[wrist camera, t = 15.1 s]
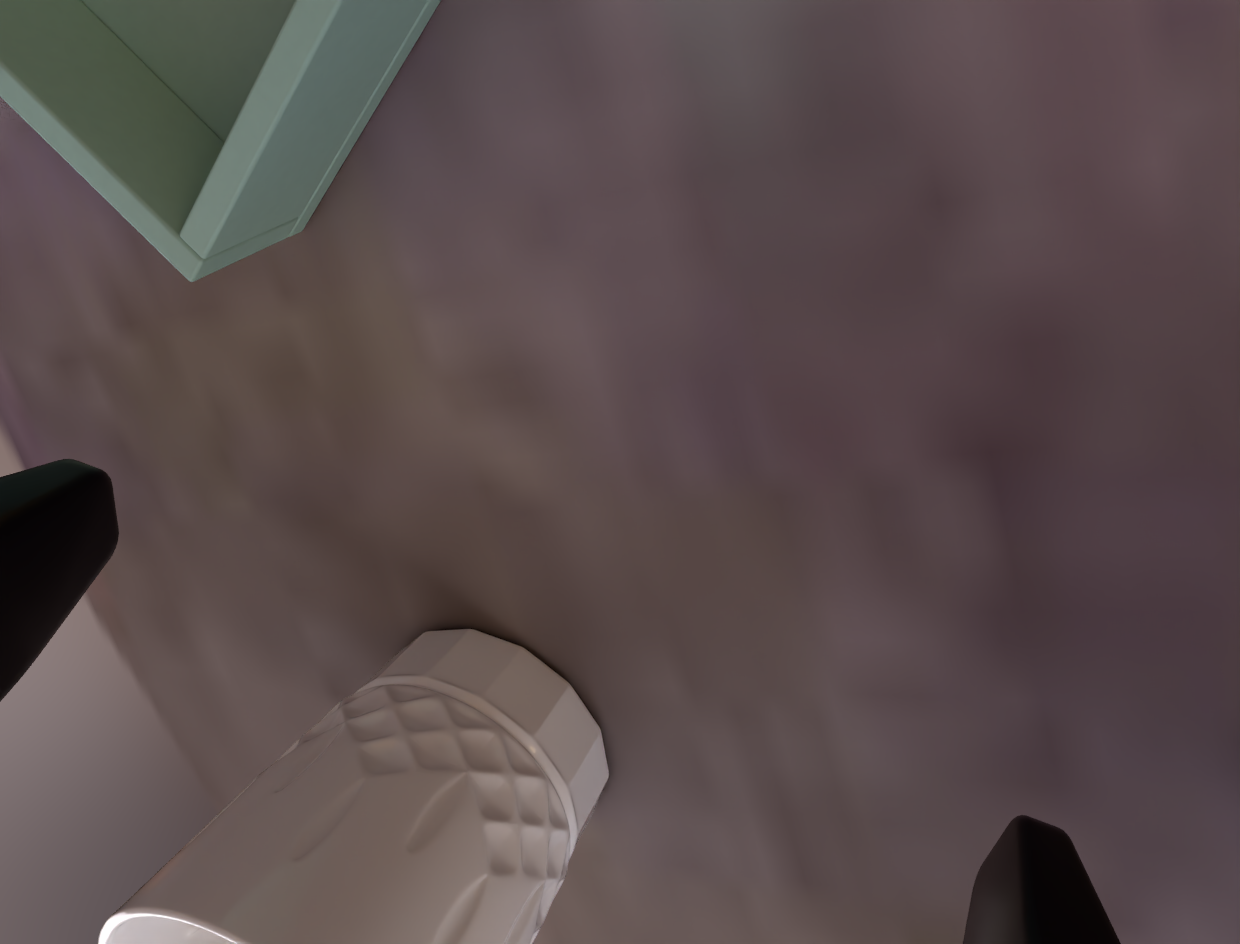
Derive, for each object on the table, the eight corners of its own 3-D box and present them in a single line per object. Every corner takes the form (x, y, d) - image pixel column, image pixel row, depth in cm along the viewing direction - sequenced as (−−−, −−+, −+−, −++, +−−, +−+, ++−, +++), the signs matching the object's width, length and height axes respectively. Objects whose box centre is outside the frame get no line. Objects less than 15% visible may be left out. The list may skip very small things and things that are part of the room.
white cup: (345, 588, 29) (41, 869, 22) (608, 627, 26) (362, 976, 18) (411, 804, 33) (171, 1113, 25) (649, 863, 30) (459, 1239, 22)
